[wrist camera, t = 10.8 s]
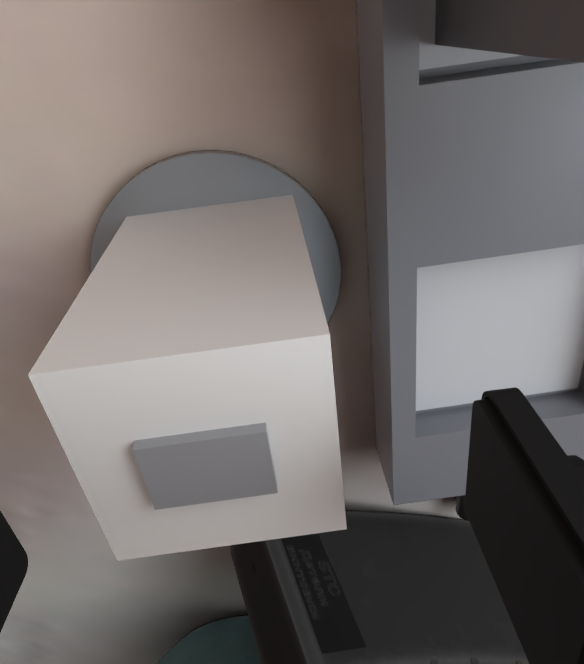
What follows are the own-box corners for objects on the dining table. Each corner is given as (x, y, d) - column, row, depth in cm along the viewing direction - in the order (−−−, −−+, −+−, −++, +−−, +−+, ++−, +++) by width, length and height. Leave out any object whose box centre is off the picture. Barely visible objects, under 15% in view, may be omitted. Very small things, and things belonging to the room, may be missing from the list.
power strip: (548, 486, 24) (592, 554, 21) (379, 510, 24) (398, 582, 21) (772, -578, 9) (1035, -881, 6) (332, -517, 9) (376, -788, 6)
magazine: (142, 759, 15) (1100, 1184, 15) (165, 708, 14) (1236, 1179, 13) (273, 426, 30) (747, 626, 30) (291, 384, 29) (791, 593, 28)
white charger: (308, 335, 18) (348, 539, 11) (166, 354, 18) (114, 571, 11) (293, 194, 15) (331, 341, 8) (126, 216, 15) (22, 384, 8)
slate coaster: (345, 355, 19) (348, 364, 19) (134, 386, 19) (131, 395, 19) (328, 132, 15) (330, 135, 14) (57, 170, 15) (50, 175, 14)
